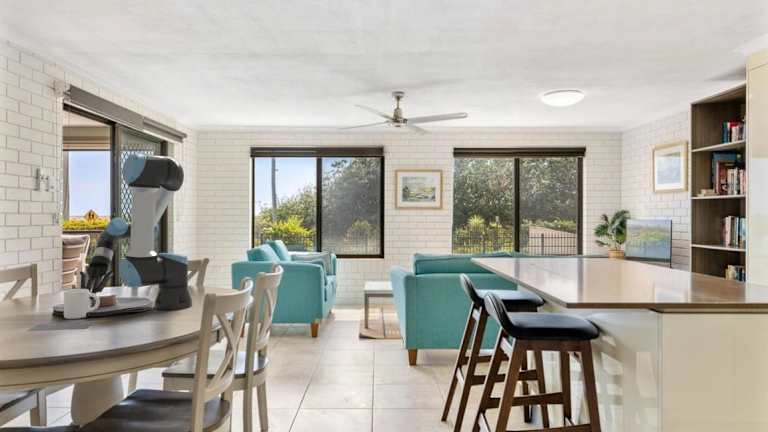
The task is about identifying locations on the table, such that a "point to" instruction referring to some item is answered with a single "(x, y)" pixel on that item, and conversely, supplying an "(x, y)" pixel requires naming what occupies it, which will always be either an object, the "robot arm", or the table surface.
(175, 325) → the table surface
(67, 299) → the mug
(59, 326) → the t mat
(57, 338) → the table surface
